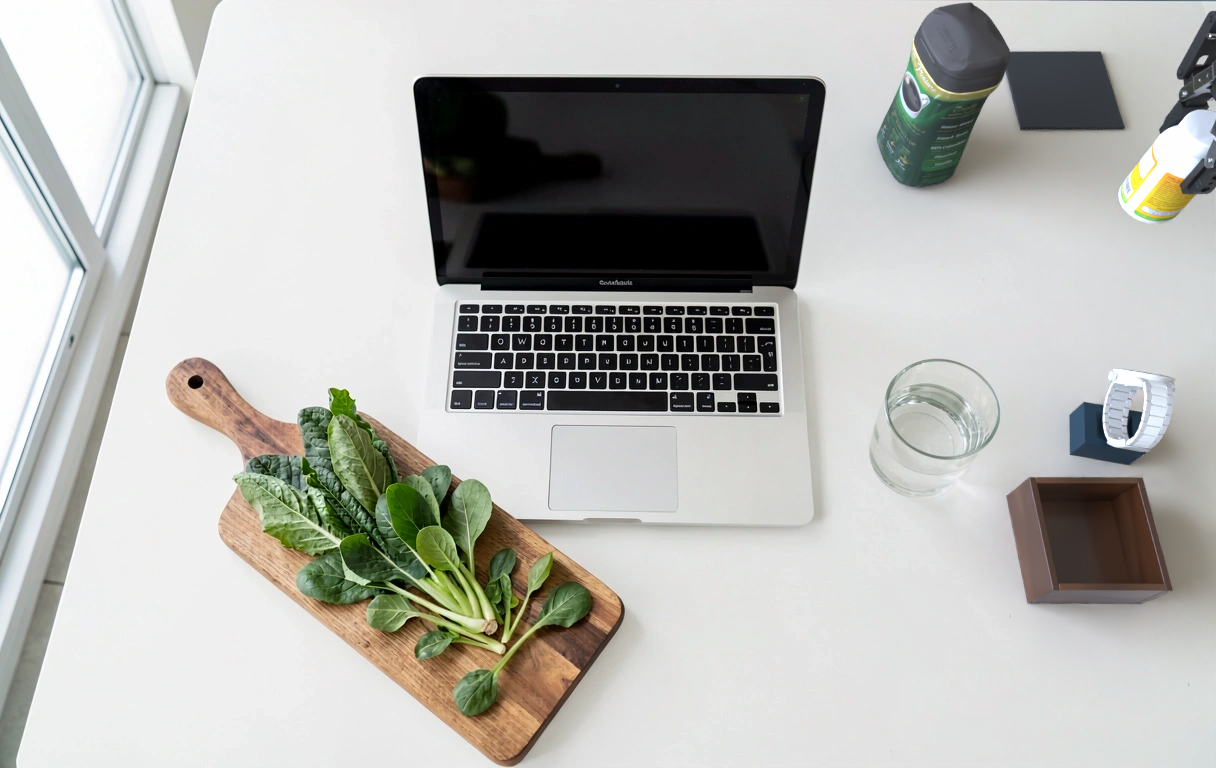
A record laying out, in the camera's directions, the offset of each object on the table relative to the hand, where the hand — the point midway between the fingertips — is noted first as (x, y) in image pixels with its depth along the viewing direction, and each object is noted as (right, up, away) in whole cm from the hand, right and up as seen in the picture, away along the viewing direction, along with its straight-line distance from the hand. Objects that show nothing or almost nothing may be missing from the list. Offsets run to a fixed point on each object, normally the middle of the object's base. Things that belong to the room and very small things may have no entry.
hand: (1181, 161), depth 77 cm
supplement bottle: (0, -2, +5) cm, 6 cm away
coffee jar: (-14, +7, +27) cm, 31 cm away
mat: (+5, +16, +31) cm, 35 cm away
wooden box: (-6, -34, +7) cm, 35 cm away
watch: (-1, -24, +12) cm, 27 cm away
